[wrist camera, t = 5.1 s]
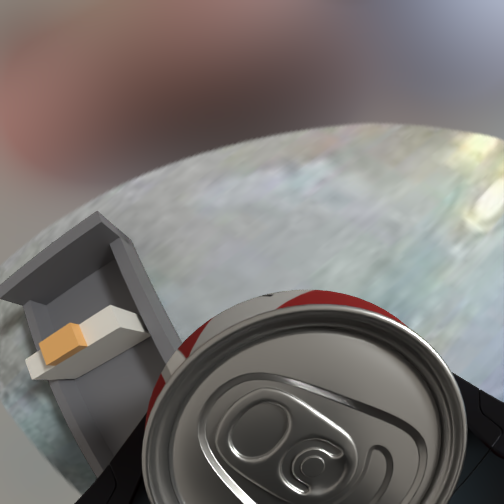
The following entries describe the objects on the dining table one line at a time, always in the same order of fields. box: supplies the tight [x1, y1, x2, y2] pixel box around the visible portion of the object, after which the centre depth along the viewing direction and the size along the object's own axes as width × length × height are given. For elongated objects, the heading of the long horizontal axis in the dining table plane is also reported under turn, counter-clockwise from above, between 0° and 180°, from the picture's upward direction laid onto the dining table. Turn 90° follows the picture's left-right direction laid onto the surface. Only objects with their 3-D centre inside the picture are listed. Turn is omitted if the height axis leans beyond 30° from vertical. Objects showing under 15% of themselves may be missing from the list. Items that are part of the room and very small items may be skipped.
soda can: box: [142, 290, 467, 504], centre depth 10 cm, size 7×7×12 cm
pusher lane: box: [0, 211, 182, 478], centre depth 20 cm, size 19×11×6 cm, turn 31°
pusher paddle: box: [25, 305, 151, 380], centre depth 19 cm, size 2×8×7 cm, turn 121°
